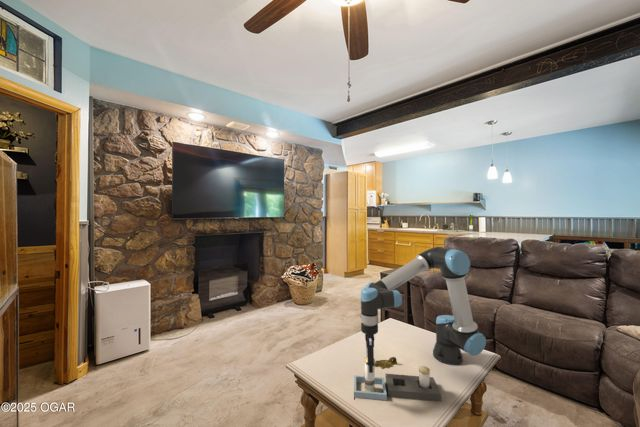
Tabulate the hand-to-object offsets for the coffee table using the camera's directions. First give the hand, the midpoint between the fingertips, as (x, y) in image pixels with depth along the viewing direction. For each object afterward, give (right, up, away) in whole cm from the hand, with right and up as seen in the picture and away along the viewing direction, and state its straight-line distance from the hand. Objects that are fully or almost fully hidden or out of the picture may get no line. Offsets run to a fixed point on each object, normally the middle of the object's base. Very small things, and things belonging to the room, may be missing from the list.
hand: (370, 369), depth 121 cm
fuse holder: (+19, -10, 0) cm, 21 cm away
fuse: (+24, -9, -1) cm, 26 cm away
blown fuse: (0, -9, 0) cm, 9 cm away
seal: (+12, -11, +20) cm, 26 cm away
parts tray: (0, -10, 0) cm, 10 cm away
